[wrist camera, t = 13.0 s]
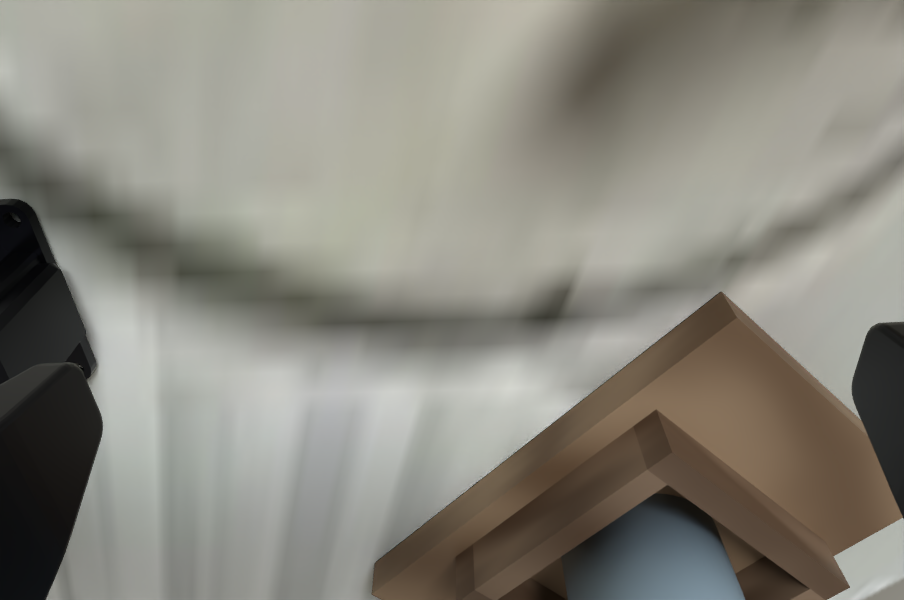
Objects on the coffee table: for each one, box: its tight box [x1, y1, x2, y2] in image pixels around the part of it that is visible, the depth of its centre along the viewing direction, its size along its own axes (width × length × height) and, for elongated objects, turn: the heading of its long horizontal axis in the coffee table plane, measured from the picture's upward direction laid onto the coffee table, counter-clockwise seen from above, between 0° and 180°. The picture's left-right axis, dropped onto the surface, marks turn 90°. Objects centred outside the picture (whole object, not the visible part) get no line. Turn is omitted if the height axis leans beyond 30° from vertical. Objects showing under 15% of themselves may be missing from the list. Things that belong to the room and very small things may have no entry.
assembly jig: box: [372, 292, 903, 600], centre depth 27 cm, size 18×12×4 cm, turn 138°
